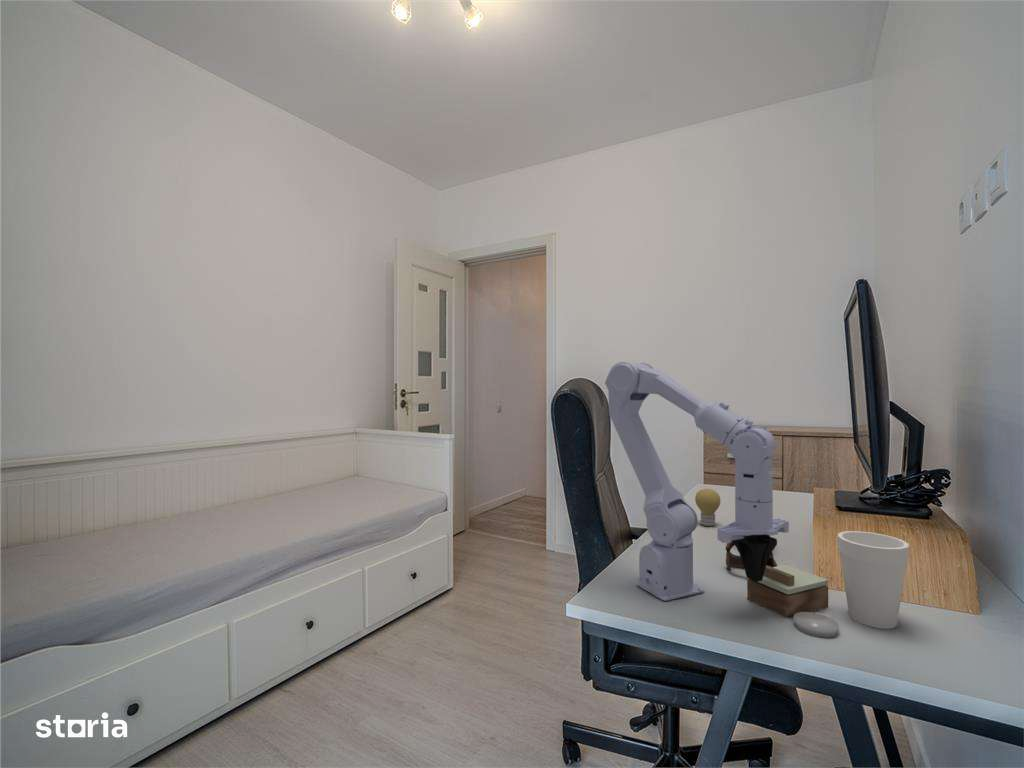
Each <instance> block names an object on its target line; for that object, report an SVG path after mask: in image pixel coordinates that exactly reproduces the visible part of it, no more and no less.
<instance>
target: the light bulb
mask: <svg viewBox="0 0 1024 768" xmlns="http://www.w3.org/2000/svg"><path fill="white" fill-rule="evenodd" d="M694 498H695V504H696V506H697V508H698V509H699V510H700V524H701V525H702V526H704V527H713V526H715V525H716V514H715V513H716V511H717V510H718V509H719V508H720V505H721V496H720V494H719V493H718V492H717V491H716V490H714V489H711V488H702V489H700V490H698V491H697V492H696V494H695V497H694Z"/></svg>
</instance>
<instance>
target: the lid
mask: <svg viewBox="0 0 1024 768" xmlns="http://www.w3.org/2000/svg"><path fill="white" fill-rule="evenodd" d="M758 582H759V583H762V584H764V585H766V586H769V587H771V588H774V589H776V590H778V591H781V592H783V593H785V594H788V595H789V594H793V593H797V592H801V591H805V590H809V589H813V588H817V587H821V586H825V585H826V586H828V585H829V579H827V578H824V577H821V576H818V575H816V574H813V573H810V572H807V571H804V570H801V569H800V568H797V567H794V566H790V565H788V564H783V565H777V567H770V566H767V565H766V568H765V572H764V575H763V579H762V581H758Z"/></svg>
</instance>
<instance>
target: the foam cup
mask: <svg viewBox="0 0 1024 768" xmlns="http://www.w3.org/2000/svg"><path fill="white" fill-rule="evenodd" d="M837 551H838V552H839V559H840V565H841V571H842V577H843V584H844V591H845V597H846V603H847V610H848V615H849V617H851V619H852V620H854V621H855V622H858V623H860V624H862V625H865V626H869V627H872V628H876V629H877V628H878V629H894V628H896V627H897V624H898V621H899V620H898V619H899V614H900V607H901V599H902V596H903V595H902V594H903V588H904V582H905V575H906V570H907V563H909V543H908V542H906V541H904V540H903V539H900V538H897V537H894V536H891V535H887V534H882V533H877V532H876V533H875V532H870V531H869V532H868V531H860V530H859V531H857V530H855V531H854V530H853V531H851V530H846V531H841V532H838V534H837Z"/></svg>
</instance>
